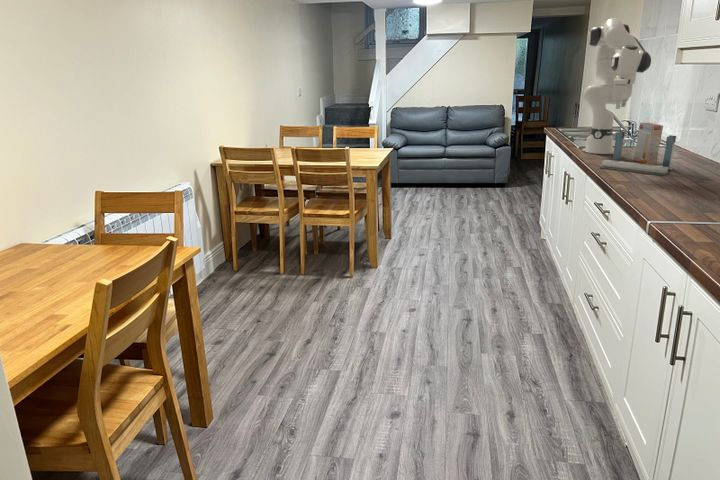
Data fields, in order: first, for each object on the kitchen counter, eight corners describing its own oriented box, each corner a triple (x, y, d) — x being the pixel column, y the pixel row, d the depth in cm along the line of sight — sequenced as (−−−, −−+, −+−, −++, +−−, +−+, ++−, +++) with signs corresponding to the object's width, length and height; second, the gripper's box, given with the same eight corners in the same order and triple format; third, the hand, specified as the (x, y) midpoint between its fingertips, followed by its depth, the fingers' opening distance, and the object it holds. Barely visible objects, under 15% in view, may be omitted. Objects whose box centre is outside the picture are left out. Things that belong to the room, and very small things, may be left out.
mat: (605, 165, 287) (605, 164, 287) (668, 173, 269) (669, 171, 269) (599, 168, 280) (599, 167, 279) (664, 176, 261) (664, 175, 261)
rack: (611, 162, 295) (616, 130, 289) (673, 169, 277) (680, 135, 271) (607, 164, 289) (612, 132, 284) (670, 172, 271) (676, 137, 265)
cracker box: (656, 165, 287) (664, 125, 280) (645, 165, 287) (652, 125, 280) (644, 160, 300) (650, 122, 294) (633, 160, 300) (639, 122, 294)
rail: (603, 165, 284) (604, 159, 283) (667, 172, 266) (668, 166, 265) (601, 166, 282) (602, 160, 281) (666, 173, 264) (667, 167, 263)
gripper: (624, 78, 284) (619, 105, 289) (612, 80, 269) (608, 109, 274) (637, 78, 280) (632, 106, 285) (626, 81, 265) (621, 110, 270)
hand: (620, 107), depth 280 cm, fingers open, 8 cm apart
